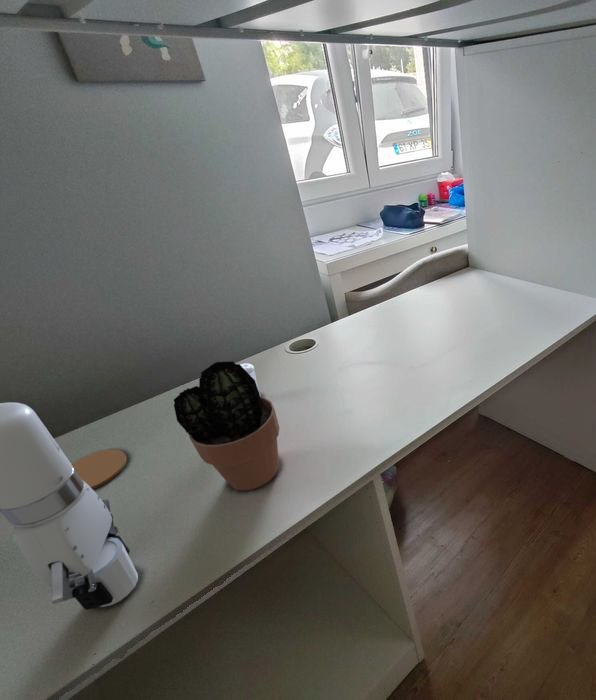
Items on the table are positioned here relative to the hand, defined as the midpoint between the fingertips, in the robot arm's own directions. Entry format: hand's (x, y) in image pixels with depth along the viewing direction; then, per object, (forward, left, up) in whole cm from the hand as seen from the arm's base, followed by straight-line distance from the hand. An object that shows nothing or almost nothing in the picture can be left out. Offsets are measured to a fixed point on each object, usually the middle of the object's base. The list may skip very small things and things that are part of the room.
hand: (109, 578), depth 64 cm
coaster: (-12, +29, -2) cm, 31 cm away
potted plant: (+18, +17, -2) cm, 25 cm away
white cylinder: (0, 0, -2) cm, 2 cm away
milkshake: (+16, +42, -2) cm, 45 cm away
